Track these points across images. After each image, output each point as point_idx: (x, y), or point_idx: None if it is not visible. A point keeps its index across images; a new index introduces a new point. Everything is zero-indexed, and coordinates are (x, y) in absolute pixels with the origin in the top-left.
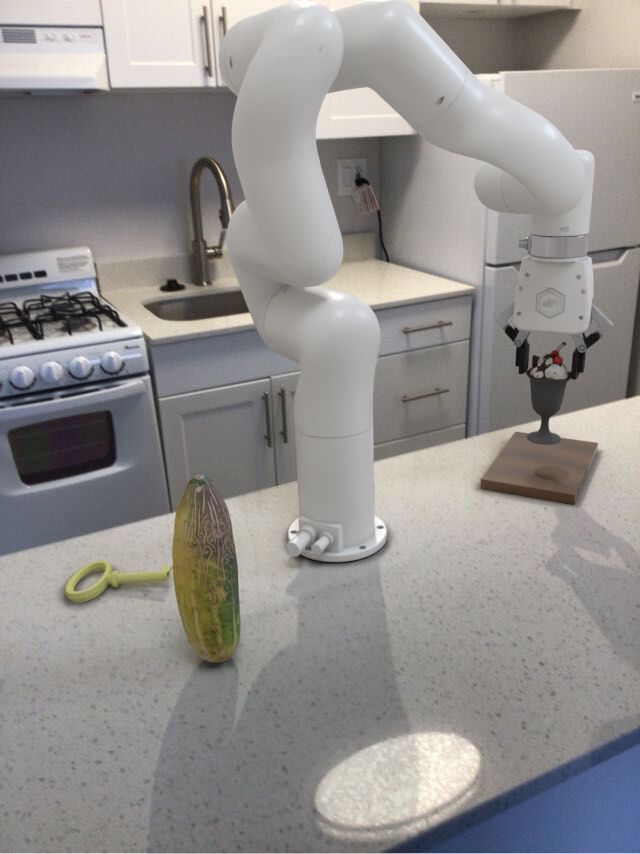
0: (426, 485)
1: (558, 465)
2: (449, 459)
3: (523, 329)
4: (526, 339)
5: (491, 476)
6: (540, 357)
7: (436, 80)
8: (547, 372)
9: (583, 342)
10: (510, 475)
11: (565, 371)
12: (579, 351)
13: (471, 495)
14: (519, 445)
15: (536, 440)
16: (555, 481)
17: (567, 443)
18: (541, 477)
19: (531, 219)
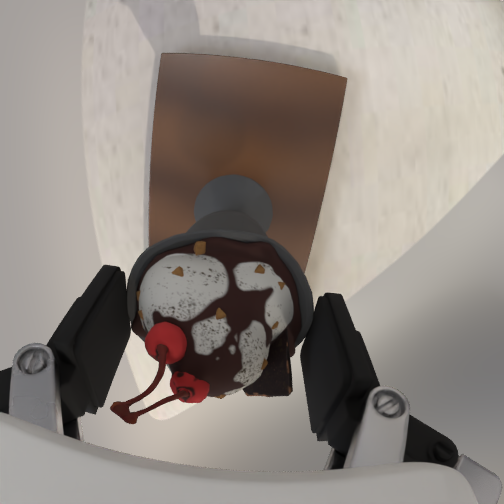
0: (427, 84)
1: (201, 176)
2: (401, 197)
3: (409, 467)
4: (335, 445)
5: (328, 91)
6: (257, 375)
7: None
8: (214, 277)
9: (13, 382)
10: (292, 103)
11: (141, 298)
12: (48, 350)
13: (353, 50)
14: None
15: (247, 185)
16: (200, 98)
17: None
18: (229, 108)
19: None
